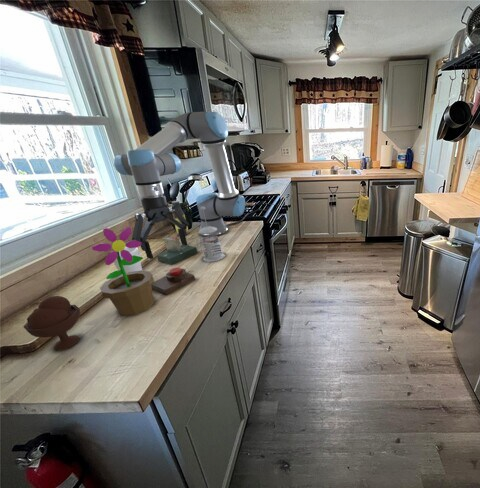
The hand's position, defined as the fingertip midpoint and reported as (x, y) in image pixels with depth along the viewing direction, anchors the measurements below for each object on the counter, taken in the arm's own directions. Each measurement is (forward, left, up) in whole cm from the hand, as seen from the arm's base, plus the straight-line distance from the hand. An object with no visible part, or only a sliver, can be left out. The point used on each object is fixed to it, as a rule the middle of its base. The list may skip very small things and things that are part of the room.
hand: (168, 250), depth 99 cm
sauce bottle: (-36, -47, -14) cm, 61 cm away
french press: (-21, -4, -14) cm, 25 cm away
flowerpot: (+17, +3, -14) cm, 22 cm away
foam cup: (+7, -18, -14) cm, 24 cm away
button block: (+2, +1, -14) cm, 14 cm away
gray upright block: (-14, -21, -10) cm, 27 cm away
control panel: (-15, -21, -14) cm, 29 cm away
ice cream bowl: (+36, +3, -14) cm, 39 cm away
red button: (0, +1, -10) cm, 10 cm away
